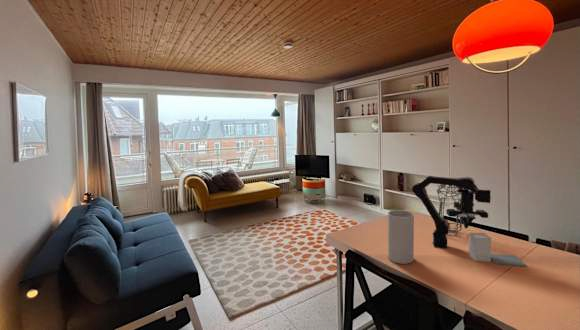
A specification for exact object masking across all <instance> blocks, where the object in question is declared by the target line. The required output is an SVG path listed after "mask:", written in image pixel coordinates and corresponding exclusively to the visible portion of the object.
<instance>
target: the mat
mask: <svg viewBox="0 0 580 330" xmlns="http://www.w3.org/2000/svg"><path fill="white" fill-rule="evenodd" d="M491 262H493V263H494V264H495V265H501V266H502V265H503V266H512V267H525V268H526V267H528V266H527V264H526V263H525V262H523V260H522V259H520V258H519V257H518V256H517V255H514V254H513V255H512V254H499V253H491Z"/></svg>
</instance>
